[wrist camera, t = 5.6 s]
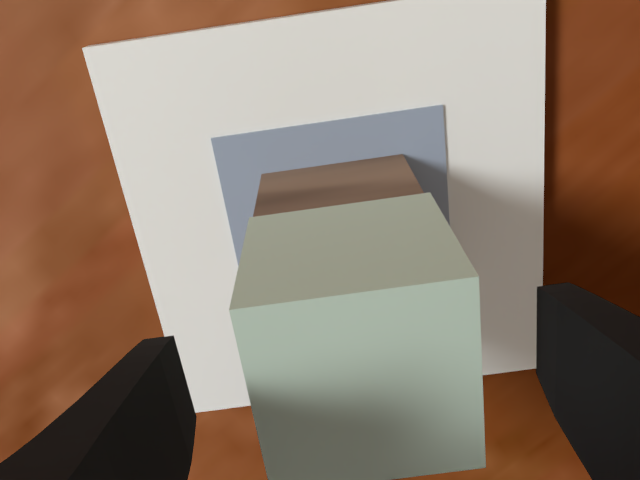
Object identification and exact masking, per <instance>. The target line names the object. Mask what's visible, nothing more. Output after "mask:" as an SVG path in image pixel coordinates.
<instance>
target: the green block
mask: <svg viewBox="0 0 640 480" xmlns="http://www.w3.org/2000/svg"><path fill="white" fill-rule="evenodd" d="M229 312H230V317H231V321H232V325H233V330H234V334H235V338H236V343H237V347H238V351H239V356H240V360H241V364H242V369H243V373H244V377H245V382H246V386H247V391H248V395H249V399H250V404H251V408H252V412H253V417H254V421H255V425H256V430H257V434H258V438H259V443H260V447H261V452H262V456H263V460H264V465H265V469H266V473H267V478H268V480H390V479H399V478H407V477H415V476H423V475H431V474H439V473H447V472H455V471H463V470H471V469H479V468H486V461H485V433H484V405H483V377H482V348H481V320H480V292H479V276H478V274H477V272H476V271H475V269H474V267H473V265H472V264H471V262H470V260H469V258H468V257H467V255H466V253H465V252H464V250H463V248H462V246H461V245H460V243H459V241H458V239H457V238H456V236H455V234H454V233H453V231H452V229H451V227H450V226H449V224H448V222H447V221H446V219H445V217H444V215H443V214H442V212H441V210H440V208H439V207H438V205H437V203H436V202H435V200H434V198H433V196H432V195H431V193H430V192H429V193H422V194H415V195H407V196H400V197H393V198H386V199H379V200H371V201H364V202H357V203H350V204H343V205H335V206H328V207H321V208H314V209H307V210H299V211H292V212H285V213H278V214H271V215H263V216H256V217H249V220H248V225H247V229H246V234H245V239H244V243H243V248H242V252H241V257H240V262H239V266H238V271H237V275H236V280H235V285H234V289H233V294H232V299H231V303H230V308H229Z"/></svg>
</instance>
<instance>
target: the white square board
mask: <svg viewBox="0 0 640 480" xmlns="http://www.w3.org/2000/svg"><path fill="white" fill-rule="evenodd" d="M545 45H546V0H389V1H382V2H375V3H369V4H362V5H355V6H349V7H342V8H335V9H329V10H322V11H315V12H309V13H302V14H295V15H289V16H282V17H275V18H269V19H262V20H256V21H249V22H242V23H236V24H229V25H222V26H216V27H209V28H202V29H196V30H189V31H182V32H176V33H169V34H162V35H156V36H149V37H142V38H136V39H129V40H122V41H116V42H109V43H102V44H96V45H89V46H86V47H84V48H82V50H83V53H84V57H85V60H86V64H87V67H88V71H89V74H90V77H91V81H92V84H93V88H94V91H95V95H96V98H97V102H98V105H99V109H100V112H101V116H102V119H103V123H104V126H105V130H106V133H107V137H108V140H109V144H110V147H111V151H112V154H113V158H114V161H115V165H116V168H117V172H118V175H119V179H120V182H121V186H122V189H123V193H124V196H125V200H126V203H127V207H128V210H129V214H130V217H131V221H132V224H133V228H134V231H135V235H136V238H137V242H138V245H139V248H140V252H141V255H142V259H143V262H144V266H145V269H146V273H147V276H148V280H149V283H150V287H151V290H152V294H153V297H154V301H155V304H156V308H157V311H158V315H159V318H160V322H161V325H162V329H163V332H164V336H165V337H166V336H173V335H174V338H175V342H176V346H177V349H178V353H179V356H180V360H181V364H182V367H183V371H184V374H185V378H186V381H187V385H188V389H189V392H190V396H191V399H192V403H193V407H194V410H195V413H197V412H204V411H212V410H220V409H228V408H235V407H243V406H251V404H250V399H249V395H248V391H247V386H246V382H245V377H244V373H243V369H242V364H241V360H240V356H239V351H238V347H237V343H236V338H235V334H234V330H233V325H232V321H231V317H230V312H229V308H230V303H231V299H232V294H233V289H234V285H235V280H236V275H237V271H238V266H239V262H240V257H241V252H242V248H243V243H244V239H245V234H246V229H247V225H248V220H249V217H253V214H254V209H255V204H256V199H257V194H258V189H259V184H260V179H261V174H265V173H272V172H279V171H286V170H293V169H300V168H307V167H314V166H321V165H328V164H335V163H343V162H350V161H357V160H364V159H371V158H378V157H385V156H392V155H399V154H403V156H404V157H405V159H406V161H407V163H408V165H409V166H410V168H411V170H412V172H413V174H414V176H415V177H416V179H417V181H418V183H419V185H420V186H421V188H422V190H423V192H424V193H429V192H430V193H431V195H432V196H433V198H434V200H435V202H436V203H437V205H438V207H439V208H440V210H441V212H442V214H443V215H444V217H445V219H446V221H447V222H448V224H449V226H450V227H451V229H452V231H453V233H454V234H455V236H456V238H457V239H458V241H459V243H460V245H461V246H462V248H463V250H464V252H465V253H466V255H467V257H468V258H469V260H470V262H471V264H472V265H473V267H474V269H475V271H476V272H477V274H478V276H479V292H480V320H481V348H482V375H489V374H497V373H504V372H512V371H520V370H528V369H535V368H536V337H537V287H538V286H543V223H544V134H545Z"/></svg>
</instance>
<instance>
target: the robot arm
mask: <svg viewBox="0 0 640 480" xmlns="http://www.w3.org/2000/svg"><path fill="white" fill-rule="evenodd" d="M536 374H537V376H538V379H539V381H540V383H541V386H542V388H543V391H544V393H545V396H546V398H547V400H548V402H549V405H550V407H551V409H552V412H553V414H554V416H555V418H556V420H557V421H558V423H559V425H560V427H561V428H562V430H563V432H564V433H565V435H566V437H567V438H568V440H569V442H570V444H571V445H572V447H573V449H574V450H575V452H576V454H577V455H578V457H579V459H580V460H581V462H582V463H583V465H584V467H585V468H586V470H587V472H588V473H589V475H590V477H591V478H592V480H640V317H639V316H637V315H635V314H633V313H631V312H629V311H627V310H625V309H623V308H621V307H619V306H617V305H615V304H613V303H611V302H609V301H607V300H605V299H603V298H601V297H599V296H597V295H595V294H593V293H591V292H589V291H587V290H585V289H583V288H580V287H578V286H576V285H573V284H571V283H561V284H553V285H546V286H538V287H537V337H536ZM195 427H196V414H195V410H194V407H193V403H192V399H191V396H190V392H189V389H188V385H187V381H186V378H185V374H184V371H183V367H182V364H181V360H180V356H179V353H178V349H177V346H176V342H175V338H174V335H173V336H166V337H159V338H151V339H144V340H142V341H141V342H140V343H139V344H137V345H136V346H135V347H134V348H133V349H132V350H131V351H130V352H129V353H127V354H126V355H125V356H124V357H123V358H122V359H121V360H120V361H119V362H118V363H117V364H116V365H115V366H114V367H113V368H112V369H111V370H110V371H108V372H107V373H106V374H105V375H104V376H103V377H102V378H101V379H100V380H99V381H98V382H97V383H96V384H95V385H94V386H93V387H91V388H90V389H89V390H88V391H87V392H86V393H85V394H84V395H83V396H82V397H81V398H80V399H79V400H78V401H76V402H75V403H74V404H73V405H72V406H71V407H69V408H68V409H67V410H66V411H65V412H64V413H62V414H61V415H60V416H59V417H58V418H57V419H56V420H54V421H53V422H52V423H51V424H50V425H49V426H47V427H46V428H45V429H44V430H43V431H42V432H40V433H39V434H38V435H37V436H36V437H34V438H33V439H32V440H31V441H29V442H28V443H27V444H26V445H24V446H23V447H22V448H20V449H19V450H18V451H16V452H15V453H14V454H12V455H11V456H10V457H8V458H7V459H6V460H4V461H3V462H1V463H0V480H187V479H188V475H189V471H190V466H191V461H192V454H193V446H194V437H195Z"/></svg>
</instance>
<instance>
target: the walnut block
mask: <svg viewBox="0 0 640 480" xmlns="http://www.w3.org/2000/svg"><path fill="white" fill-rule="evenodd" d="M422 193H424V192H423V190H422V188H421V186H420V185H419V183H418V181H417V179H416V177H415V176H414V174H413V172H412V170H411V168H410V166H409V165H408V163H407V161H406V159H405V157H404V156H403V154H399V155H392V156H385V157H378V158H371V159H364V160H357V161H350V162H343V163H335V164H328V165H321V166H314V167H307V168H300V169H293V170H286V171H279V172H272V173H265V174H261V179H260V184H259V189H258V194H257V199H256V204H255V209H254V214H253V217H256V216H263V215H271V214H278V213H285V212H292V211H299V210H307V209H314V208H321V207H328V206H335V205H343V204H350V203H357V202H364V201H371V200H379V199H386V198H393V197H400V196H407V195H415V194H422Z"/></svg>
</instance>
